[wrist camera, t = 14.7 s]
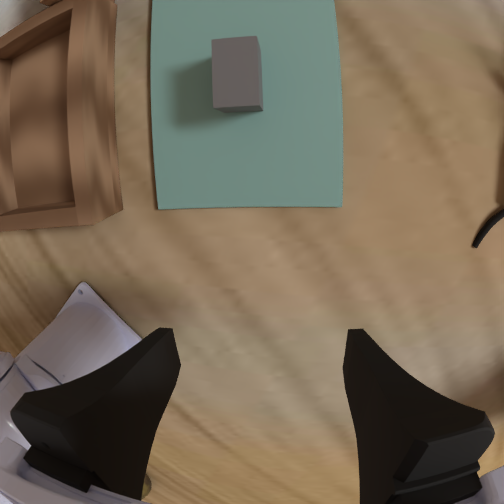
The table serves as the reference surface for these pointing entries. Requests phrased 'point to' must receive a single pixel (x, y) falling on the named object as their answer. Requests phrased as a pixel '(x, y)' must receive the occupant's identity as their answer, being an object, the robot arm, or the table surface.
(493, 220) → the bike brake
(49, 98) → the wooden tray
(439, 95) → the table surface
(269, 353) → the table surface
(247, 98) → the lid
